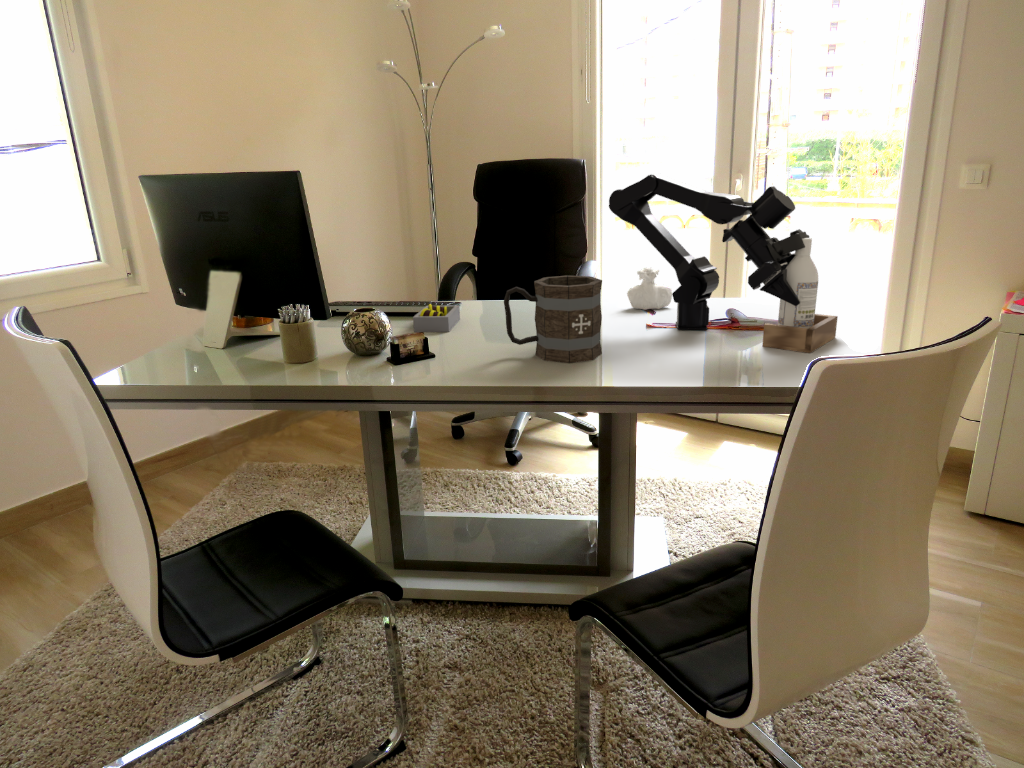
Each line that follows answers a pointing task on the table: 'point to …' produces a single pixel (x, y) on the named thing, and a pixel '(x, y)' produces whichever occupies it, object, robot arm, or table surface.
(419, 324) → the valet tray
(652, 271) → the white tied sack
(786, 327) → the u rest
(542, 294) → the mug
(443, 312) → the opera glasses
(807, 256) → the bath foam
